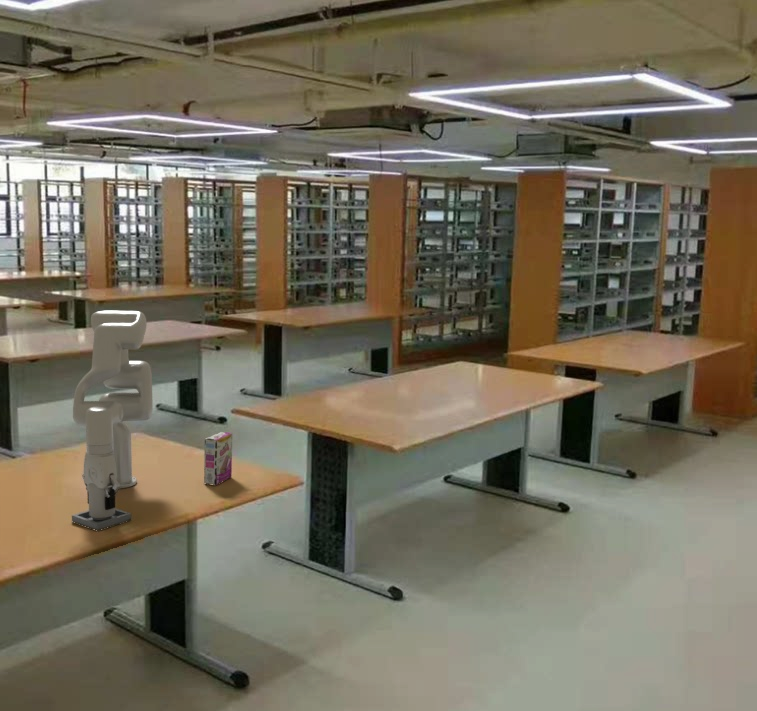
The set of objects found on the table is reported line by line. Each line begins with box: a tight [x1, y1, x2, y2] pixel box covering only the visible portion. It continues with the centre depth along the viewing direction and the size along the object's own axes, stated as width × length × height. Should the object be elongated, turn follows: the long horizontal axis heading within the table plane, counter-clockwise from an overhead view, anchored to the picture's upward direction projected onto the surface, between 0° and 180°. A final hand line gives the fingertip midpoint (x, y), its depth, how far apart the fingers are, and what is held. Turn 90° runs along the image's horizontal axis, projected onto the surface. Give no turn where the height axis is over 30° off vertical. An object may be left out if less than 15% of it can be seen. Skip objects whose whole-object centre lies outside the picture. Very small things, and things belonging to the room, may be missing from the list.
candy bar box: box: [203, 431, 233, 486], centre depth 290 cm, size 11×5×16 cm, turn 161°
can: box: [87, 481, 116, 520], centre depth 248 cm, size 8×8×12 cm
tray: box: [71, 507, 132, 532], centre depth 249 cm, size 12×12×2 cm
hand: (101, 505), depth 249 cm, fingers closed on can, 7 cm apart
